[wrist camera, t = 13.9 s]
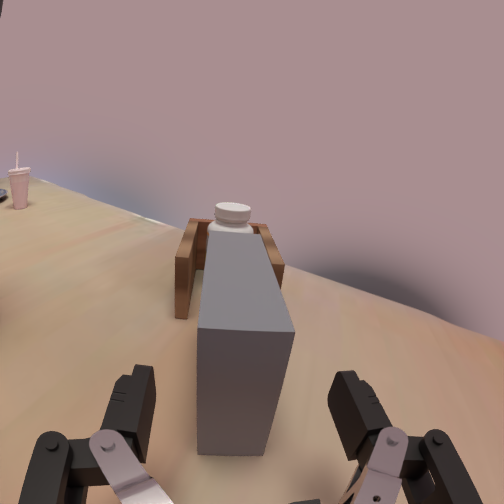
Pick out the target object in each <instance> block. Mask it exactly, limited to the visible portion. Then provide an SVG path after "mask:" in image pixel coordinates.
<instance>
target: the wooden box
mask: <svg viewBox="0 0 504 504" xmlns="http://www.w3.org/2000/svg"><path fill="white" fill-rule="evenodd" d="M213 221H215V220H207V219H194V218H190V220H189V222H188V225H187V227H186V230H185V232H184V235H183V238H182V240H181V243H180V245H179V248H178V251H177V253H176V256H175V318H181V319H187V316H188V310H189V305H190V299H191V293H192V288H193V282H194V277H195V271H196V269H204V267H205V253H206V239H207V228H208V226H209V224H210V223H211V222H213ZM248 224H249V225H250V226H251V227H252V228H253V232H254V234H260V235H261V237H262V240H263V243H264V246H265V248H266V251H267V254H268V257H269V259H270V262H271V265H272V268H273V271H274V273H275V276H276V279H277V282H278V284H279V287H280V290H281V285H282V279H283V273H284V267H285V264H284V262H283V260H282V257H281V255H280V253H279V251H278V249H277V247H276V245H275V242H274V240H273V238H272V236H271V234H270V232H269V230H268V227H267V225H266V224H257V223H248Z"/></svg>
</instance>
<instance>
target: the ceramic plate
mask: <svg viewBox="0 0 504 504" xmlns="http://www.w3.org/2000/svg"><path fill="white" fill-rule="evenodd" d="M7 193H8V191H7V190H5V189H0V198H1V197H3V196H5V195H6V194H7Z"/></svg>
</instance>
